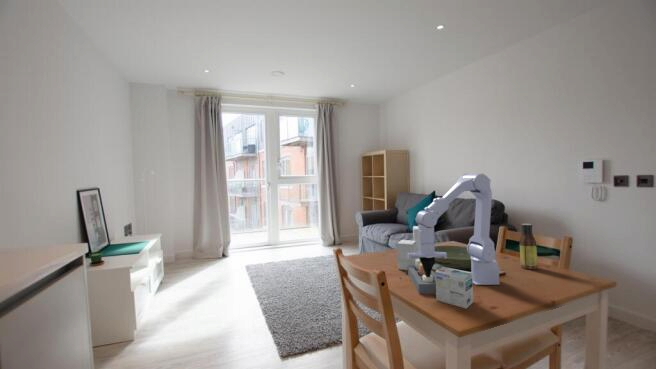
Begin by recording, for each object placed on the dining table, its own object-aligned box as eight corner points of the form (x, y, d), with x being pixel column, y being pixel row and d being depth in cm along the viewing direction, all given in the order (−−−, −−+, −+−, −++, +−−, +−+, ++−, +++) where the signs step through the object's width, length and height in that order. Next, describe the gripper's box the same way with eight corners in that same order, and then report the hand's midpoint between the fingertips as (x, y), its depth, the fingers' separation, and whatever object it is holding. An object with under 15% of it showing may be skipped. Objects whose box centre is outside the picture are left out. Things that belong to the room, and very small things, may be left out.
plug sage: (423, 269, 128) (423, 258, 128) (426, 272, 124) (425, 261, 124) (414, 269, 128) (414, 258, 128) (416, 272, 124) (416, 261, 124)
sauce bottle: (539, 268, 131) (539, 224, 130) (533, 271, 127) (533, 226, 126) (523, 264, 136) (523, 222, 135) (517, 267, 133) (516, 224, 132)
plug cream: (431, 285, 116) (431, 274, 116) (434, 289, 112) (433, 277, 112) (421, 285, 116) (421, 274, 116) (424, 289, 112) (423, 278, 112)
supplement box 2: (430, 252, 162) (429, 225, 161) (432, 257, 153) (431, 228, 153) (413, 252, 164) (412, 225, 164) (414, 256, 156) (413, 228, 155)
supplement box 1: (417, 266, 140) (417, 240, 139) (413, 271, 134) (412, 244, 133) (402, 264, 144) (401, 239, 143) (397, 269, 138) (396, 242, 137)
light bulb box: (474, 302, 101) (473, 272, 101) (466, 309, 96) (465, 277, 96) (443, 294, 109) (442, 265, 108) (435, 300, 104) (434, 270, 104)
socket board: (428, 273, 130) (428, 265, 130) (443, 293, 109) (443, 283, 109) (407, 273, 131) (407, 265, 131) (418, 293, 110) (418, 284, 110)
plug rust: (427, 273, 122) (427, 263, 122) (429, 277, 118) (429, 266, 118) (418, 274, 122) (417, 263, 122) (420, 277, 118) (419, 266, 118)
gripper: (409, 245, 110) (410, 280, 111) (449, 244, 109) (450, 279, 109) (406, 240, 117) (407, 273, 118) (443, 239, 116) (444, 273, 116)
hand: (427, 276), depth 114 cm, fingers closed, pressing on plug cream
